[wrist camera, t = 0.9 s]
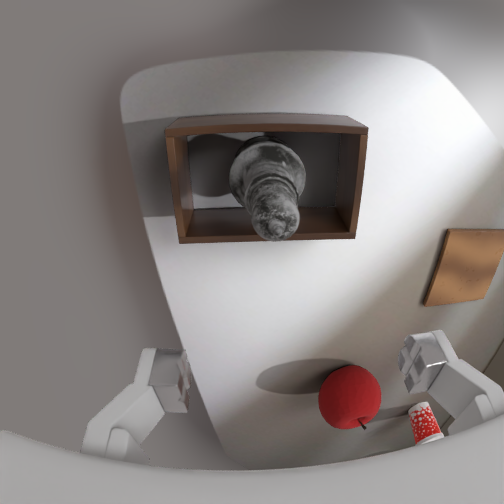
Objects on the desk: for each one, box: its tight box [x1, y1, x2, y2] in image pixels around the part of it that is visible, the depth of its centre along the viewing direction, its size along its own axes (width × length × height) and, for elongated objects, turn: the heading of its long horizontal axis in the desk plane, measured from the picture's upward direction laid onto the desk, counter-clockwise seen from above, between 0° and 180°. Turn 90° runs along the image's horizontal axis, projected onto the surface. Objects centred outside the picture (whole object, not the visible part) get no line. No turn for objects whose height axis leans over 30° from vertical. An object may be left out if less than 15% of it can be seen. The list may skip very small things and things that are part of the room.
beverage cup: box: [408, 402, 444, 446], centre depth 47 cm, size 6×6×14 cm
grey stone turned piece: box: [229, 136, 306, 241], centre depth 22 cm, size 6×6×12 cm
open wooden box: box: [165, 114, 368, 244], centre depth 25 cm, size 9×14×5 cm, turn 91°
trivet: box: [423, 229, 504, 307], centre depth 33 cm, size 11×11×1 cm
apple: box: [318, 365, 381, 430], centre depth 40 cm, size 9×9×10 cm
